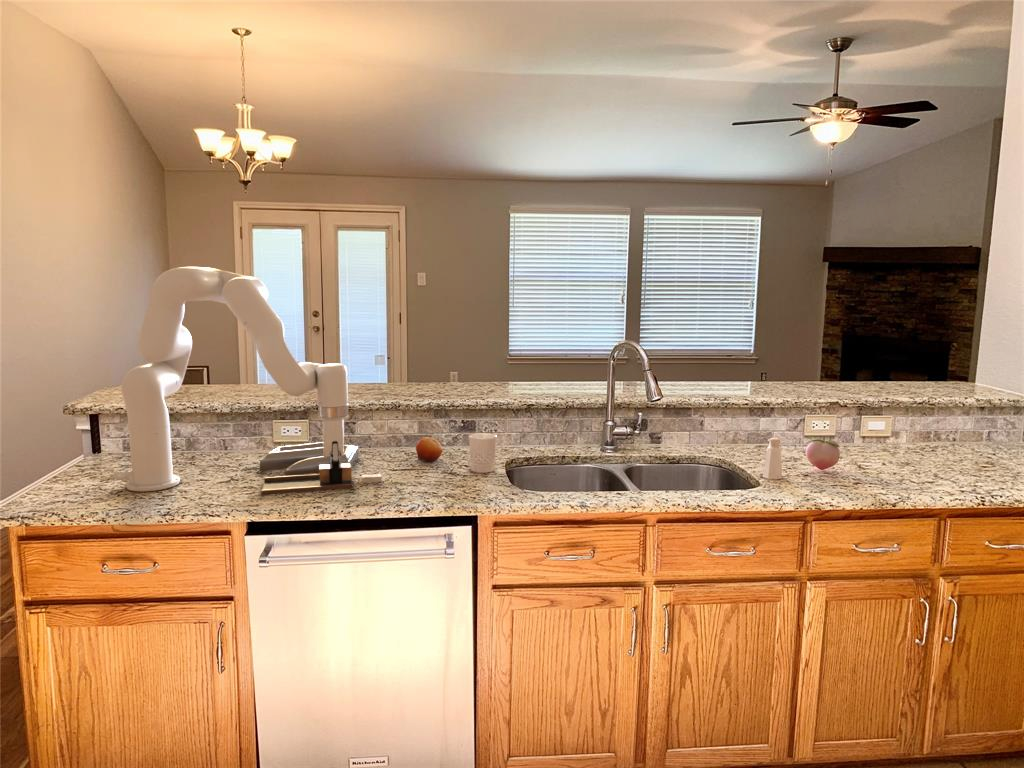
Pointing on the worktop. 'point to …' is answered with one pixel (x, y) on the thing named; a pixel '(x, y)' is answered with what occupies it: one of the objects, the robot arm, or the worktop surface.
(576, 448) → the worktop surface
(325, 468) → the eraser
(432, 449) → the fruit
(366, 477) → the chalk lump
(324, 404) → the robot arm
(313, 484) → the slate tray
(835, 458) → the decorative fruit
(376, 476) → the chalk lump
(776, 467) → the pepper shaker
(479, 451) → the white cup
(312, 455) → the emblem
